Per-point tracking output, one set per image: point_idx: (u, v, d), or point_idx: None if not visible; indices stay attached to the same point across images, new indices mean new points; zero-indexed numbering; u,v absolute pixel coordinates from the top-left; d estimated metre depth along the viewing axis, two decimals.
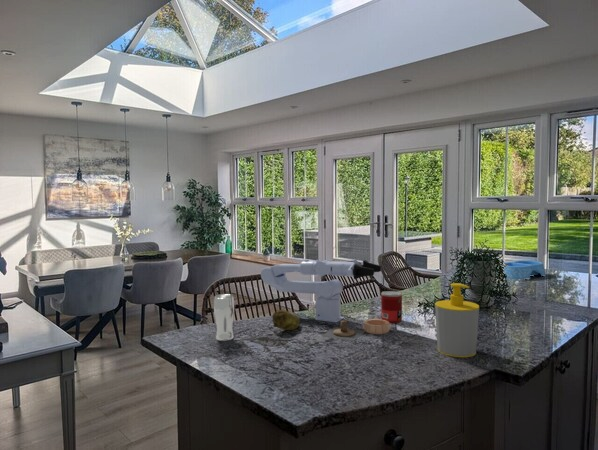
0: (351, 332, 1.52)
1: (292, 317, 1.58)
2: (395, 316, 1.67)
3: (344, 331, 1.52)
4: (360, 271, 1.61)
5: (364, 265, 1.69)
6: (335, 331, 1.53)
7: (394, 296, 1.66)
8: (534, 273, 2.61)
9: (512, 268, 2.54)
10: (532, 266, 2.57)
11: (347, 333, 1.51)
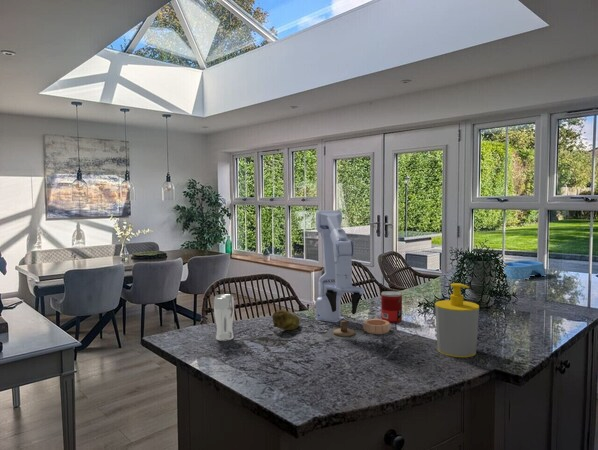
0: (351, 332, 1.52)
1: (292, 317, 1.58)
2: (395, 316, 1.67)
3: (344, 331, 1.52)
4: None
5: None
6: (335, 331, 1.53)
7: (394, 296, 1.66)
8: (534, 273, 2.61)
9: (512, 268, 2.54)
10: (532, 266, 2.57)
11: (347, 333, 1.51)
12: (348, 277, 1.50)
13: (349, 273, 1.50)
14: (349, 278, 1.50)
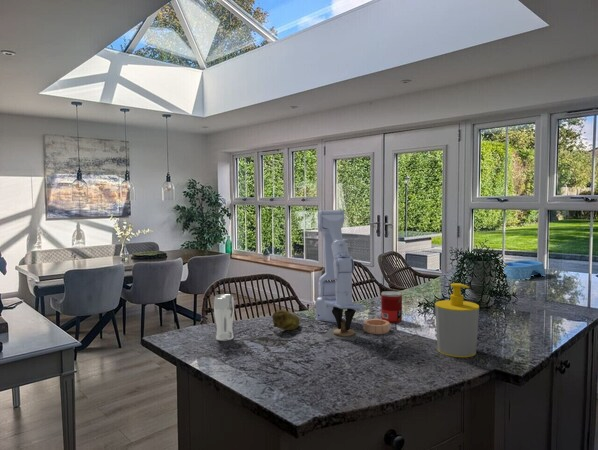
0: (351, 332, 1.52)
1: (292, 317, 1.58)
2: (395, 316, 1.67)
3: (344, 331, 1.52)
4: None
5: None
6: (335, 331, 1.53)
7: (394, 296, 1.66)
8: (534, 273, 2.61)
9: (513, 268, 2.54)
10: (532, 266, 2.57)
11: (347, 333, 1.51)
12: (348, 294, 1.50)
13: (349, 290, 1.50)
14: (349, 295, 1.50)
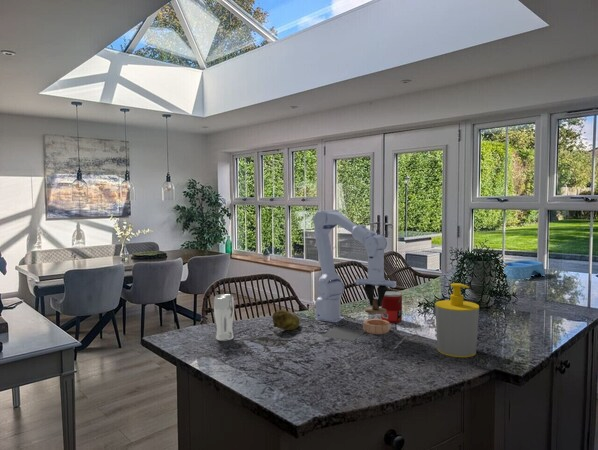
0: (383, 310, 1.54)
1: (292, 317, 1.58)
2: (395, 316, 1.67)
3: (376, 309, 1.55)
4: None
5: None
6: (367, 309, 1.56)
7: (394, 296, 1.66)
8: (534, 273, 2.61)
9: (513, 268, 2.53)
10: (533, 266, 2.57)
11: (379, 311, 1.54)
12: (381, 271, 1.53)
13: (383, 266, 1.55)
14: (381, 272, 1.54)
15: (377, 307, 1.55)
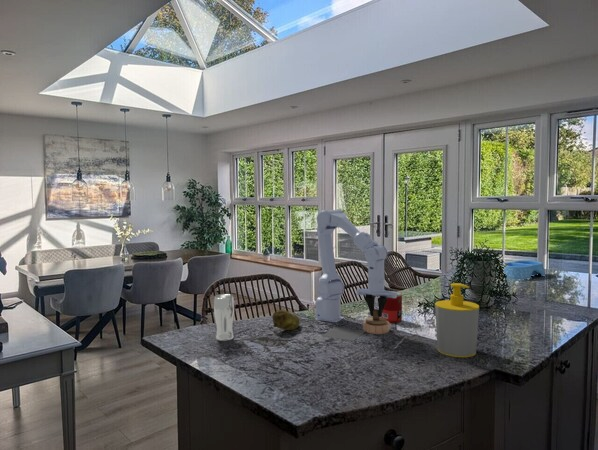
0: (383, 320, 1.55)
1: (292, 317, 1.58)
2: (395, 316, 1.67)
3: (376, 319, 1.55)
4: None
5: None
6: (367, 319, 1.57)
7: None
8: (534, 273, 2.62)
9: (514, 268, 2.53)
10: (533, 266, 2.57)
11: (379, 321, 1.54)
12: (381, 281, 1.54)
13: None
14: (382, 282, 1.54)
15: (377, 317, 1.55)
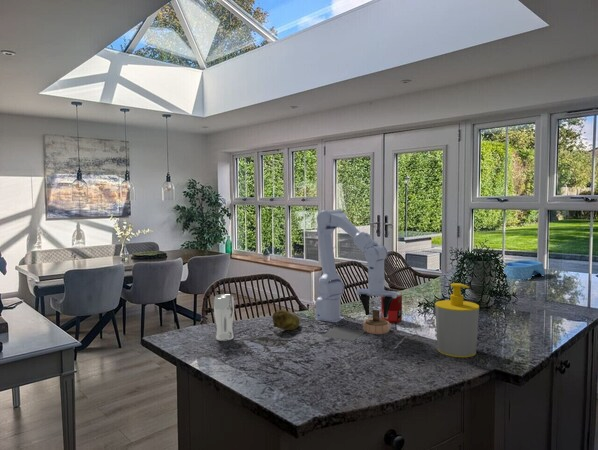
0: (383, 321, 1.55)
1: (292, 317, 1.58)
2: (395, 316, 1.67)
3: (376, 320, 1.55)
4: None
5: None
6: (367, 320, 1.57)
7: None
8: (534, 273, 2.62)
9: (514, 268, 2.53)
10: (533, 266, 2.57)
11: (379, 322, 1.54)
12: (381, 281, 1.54)
13: None
14: (382, 282, 1.54)
15: (377, 318, 1.55)
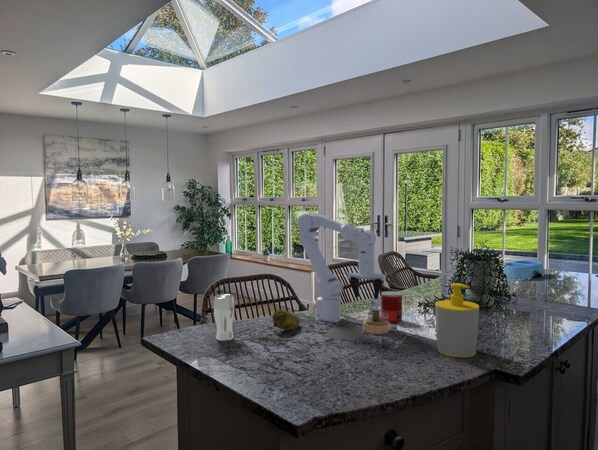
0: (383, 321, 1.55)
1: (292, 317, 1.58)
2: (395, 316, 1.67)
3: (376, 320, 1.55)
4: None
5: None
6: (367, 320, 1.57)
7: (394, 296, 1.66)
8: (534, 273, 2.62)
9: (515, 268, 2.53)
10: (533, 266, 2.57)
11: (379, 322, 1.54)
12: (371, 265, 1.61)
13: None
14: (371, 266, 1.62)
15: (377, 318, 1.55)
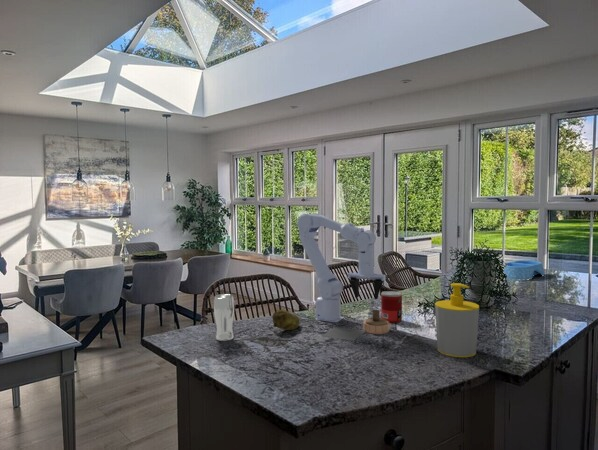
0: (383, 321, 1.55)
1: (292, 317, 1.58)
2: (395, 316, 1.67)
3: (376, 320, 1.55)
4: None
5: None
6: (367, 320, 1.57)
7: (394, 296, 1.66)
8: (534, 273, 2.62)
9: (516, 268, 2.53)
10: (534, 266, 2.57)
11: (379, 322, 1.54)
12: (371, 265, 1.61)
13: None
14: (371, 266, 1.62)
15: (377, 318, 1.55)
